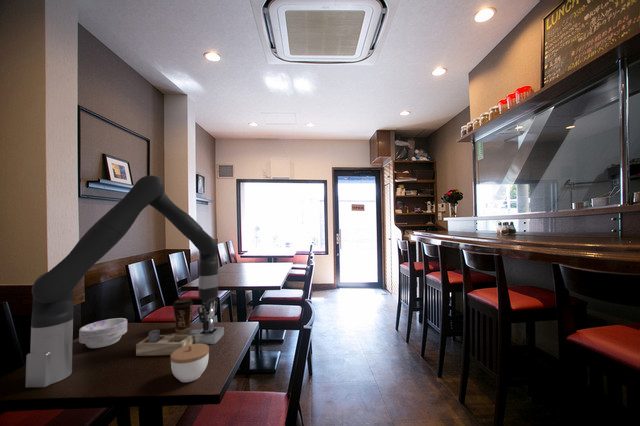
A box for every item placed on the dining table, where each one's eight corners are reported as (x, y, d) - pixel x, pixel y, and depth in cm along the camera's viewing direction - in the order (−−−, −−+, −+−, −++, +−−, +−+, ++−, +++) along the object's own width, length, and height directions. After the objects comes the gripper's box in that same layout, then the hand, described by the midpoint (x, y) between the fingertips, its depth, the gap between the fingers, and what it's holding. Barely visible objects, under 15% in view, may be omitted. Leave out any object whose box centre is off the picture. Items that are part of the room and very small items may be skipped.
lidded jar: (209, 364, 87) (209, 335, 88) (208, 381, 77) (208, 349, 78) (173, 371, 83) (173, 341, 84) (167, 391, 73) (167, 357, 74)
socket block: (215, 343, 103) (215, 335, 103) (192, 344, 103) (192, 336, 103) (223, 334, 112) (223, 326, 112) (203, 334, 112) (203, 327, 112)
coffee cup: (173, 327, 122) (173, 299, 123) (193, 323, 125) (193, 296, 126) (171, 333, 114) (171, 303, 115) (192, 330, 118) (192, 301, 118)
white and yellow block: (195, 341, 106) (195, 333, 106) (175, 341, 106) (175, 333, 106) (199, 336, 110) (199, 329, 110) (181, 337, 110) (181, 329, 110)
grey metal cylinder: (211, 340, 105) (211, 309, 106) (201, 340, 105) (201, 310, 106) (215, 336, 109) (215, 306, 110) (205, 336, 109) (205, 307, 110)
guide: (194, 342, 104) (194, 340, 104) (162, 343, 104) (162, 341, 105) (201, 336, 111) (201, 333, 111) (171, 336, 111) (171, 334, 111)
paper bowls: (99, 336, 114) (100, 318, 114) (135, 334, 114) (135, 316, 115) (67, 353, 98) (67, 331, 99) (108, 351, 99) (109, 330, 99)
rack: (181, 354, 94) (181, 335, 95) (136, 355, 95) (136, 336, 95) (193, 344, 102) (193, 326, 103) (150, 345, 103) (150, 327, 103)
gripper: (207, 282, 116) (207, 321, 115) (190, 289, 101) (190, 334, 100) (224, 282, 115) (224, 321, 114) (209, 289, 101) (209, 334, 100)
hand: (208, 327), depth 107 cm, fingers closed on grey metal cylinder, 4 cm apart
